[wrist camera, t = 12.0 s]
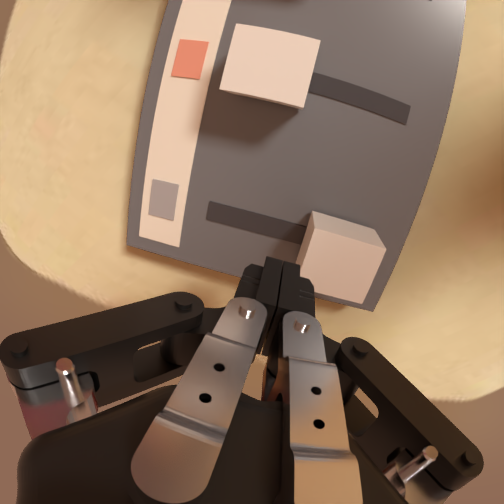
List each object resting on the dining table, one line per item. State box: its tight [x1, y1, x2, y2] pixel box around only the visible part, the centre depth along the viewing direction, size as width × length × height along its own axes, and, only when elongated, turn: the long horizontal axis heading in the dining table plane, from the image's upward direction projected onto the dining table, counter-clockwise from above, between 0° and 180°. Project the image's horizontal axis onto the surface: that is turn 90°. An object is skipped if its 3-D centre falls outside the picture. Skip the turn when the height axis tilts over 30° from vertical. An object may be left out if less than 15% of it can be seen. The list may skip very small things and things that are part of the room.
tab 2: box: [296, 211, 386, 304], centre depth 17 cm, size 4×4×3 cm
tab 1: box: [219, 23, 321, 110], centre depth 14 cm, size 4×4×3 cm
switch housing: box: [127, 0, 466, 312], centre depth 16 cm, size 18×26×3 cm
